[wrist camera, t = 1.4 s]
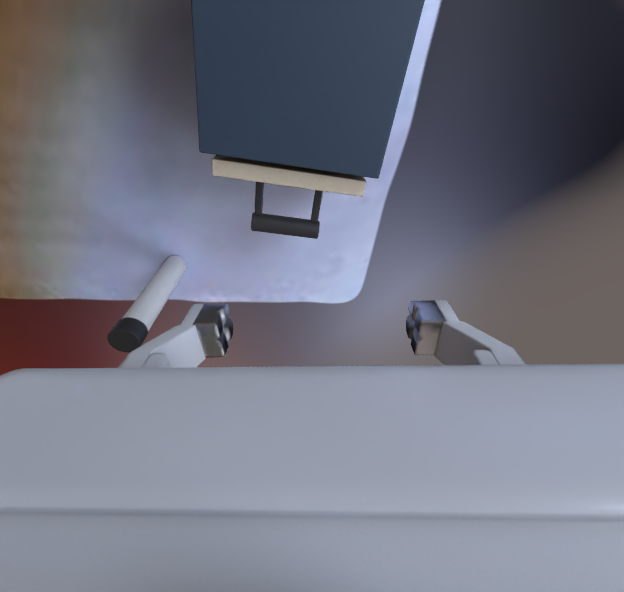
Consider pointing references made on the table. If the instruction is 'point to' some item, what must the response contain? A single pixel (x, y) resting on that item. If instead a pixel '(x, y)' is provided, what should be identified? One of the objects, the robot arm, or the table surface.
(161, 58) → the table surface
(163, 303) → the marker
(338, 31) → the cabinet
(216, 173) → the drawer
